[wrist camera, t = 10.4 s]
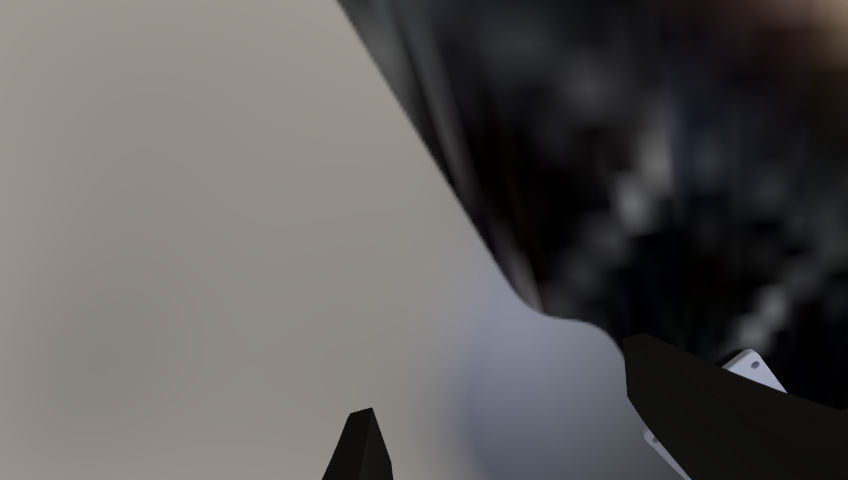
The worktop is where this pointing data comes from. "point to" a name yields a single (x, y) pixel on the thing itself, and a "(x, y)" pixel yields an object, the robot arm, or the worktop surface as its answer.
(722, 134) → the worktop surface
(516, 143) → the worktop surface
